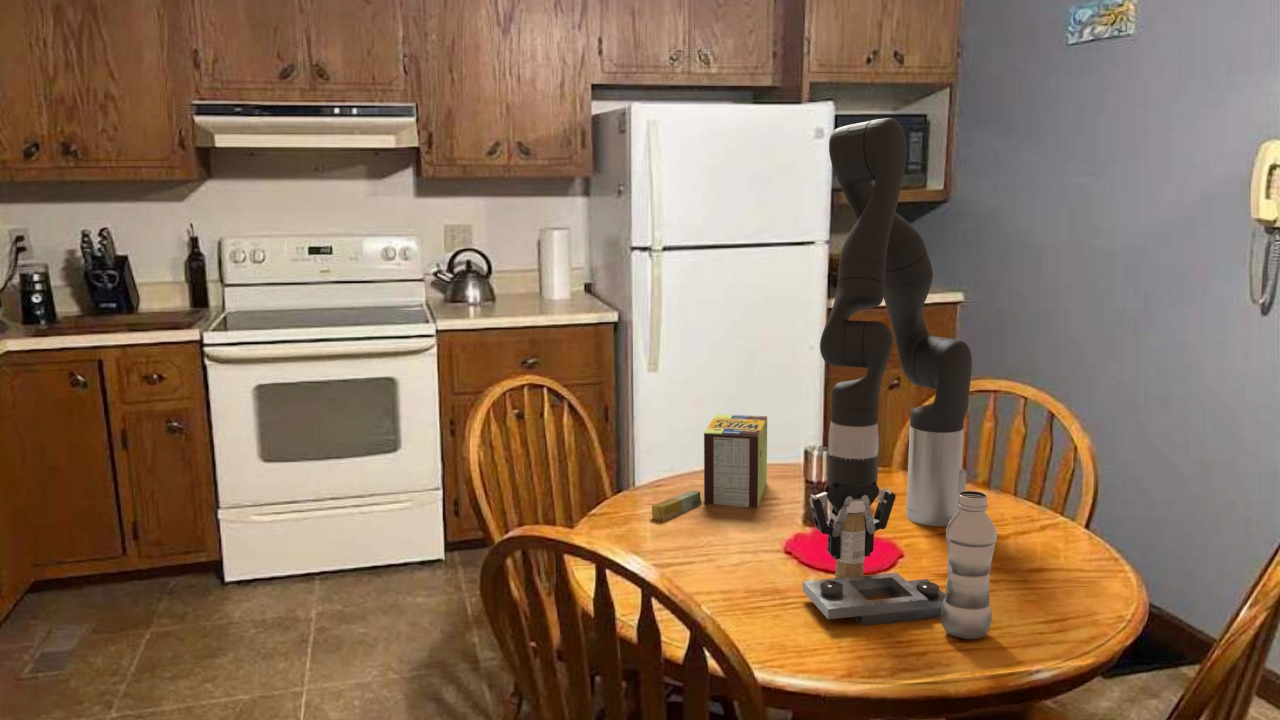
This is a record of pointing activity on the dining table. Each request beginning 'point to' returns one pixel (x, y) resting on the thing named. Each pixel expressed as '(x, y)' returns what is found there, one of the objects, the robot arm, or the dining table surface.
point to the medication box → (676, 506)
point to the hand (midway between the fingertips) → (850, 555)
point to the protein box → (735, 460)
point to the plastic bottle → (969, 568)
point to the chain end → (932, 612)
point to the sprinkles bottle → (852, 542)
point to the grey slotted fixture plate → (847, 602)
